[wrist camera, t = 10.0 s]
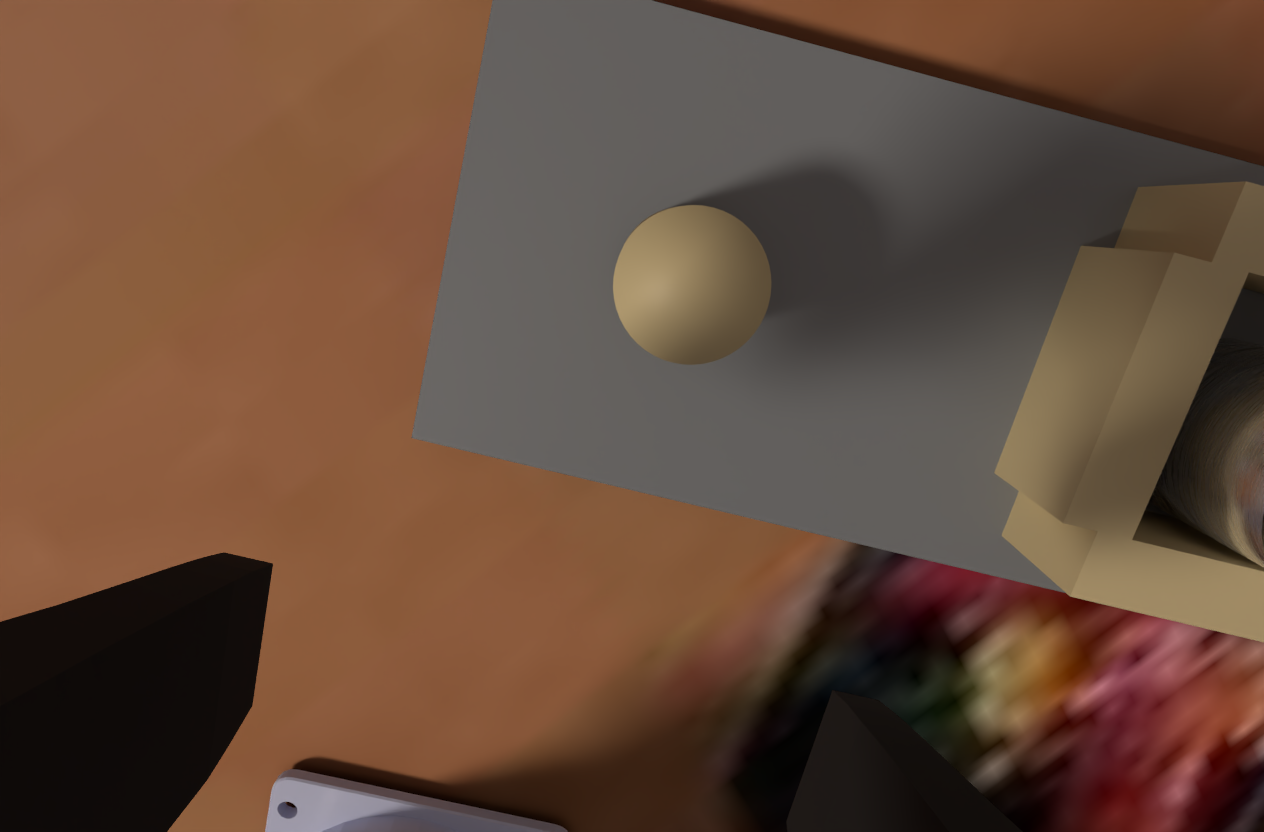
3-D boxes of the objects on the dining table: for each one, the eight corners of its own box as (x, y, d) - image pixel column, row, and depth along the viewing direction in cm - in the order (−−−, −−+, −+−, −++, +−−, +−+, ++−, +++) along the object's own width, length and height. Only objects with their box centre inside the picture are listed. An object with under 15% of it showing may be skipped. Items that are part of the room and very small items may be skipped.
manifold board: (1353, 647, 20) (1524, 751, 16) (423, 426, 19) (367, 481, 15) (1559, 258, 18) (1820, 271, 14) (508, -26, 16) (468, -100, 12)
